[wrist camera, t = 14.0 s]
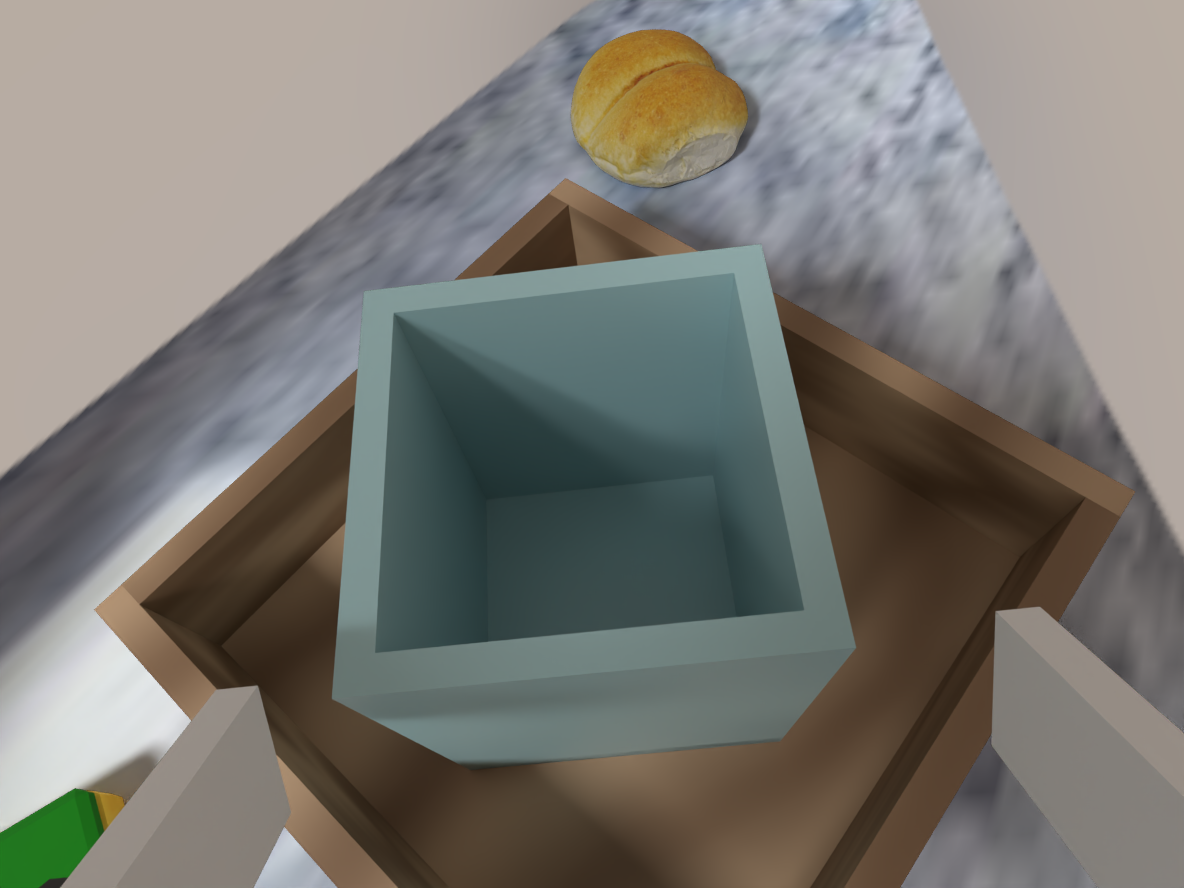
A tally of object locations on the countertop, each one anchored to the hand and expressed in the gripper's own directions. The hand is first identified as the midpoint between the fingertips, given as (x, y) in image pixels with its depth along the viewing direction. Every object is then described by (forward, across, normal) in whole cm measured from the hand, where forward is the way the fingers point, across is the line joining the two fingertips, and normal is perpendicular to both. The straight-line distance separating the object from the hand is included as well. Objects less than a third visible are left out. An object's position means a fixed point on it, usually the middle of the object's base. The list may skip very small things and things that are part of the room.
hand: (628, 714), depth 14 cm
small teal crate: (+13, 0, -5) cm, 14 cm away
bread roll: (+31, +4, +12) cm, 34 cm away
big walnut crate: (+14, 0, -5) cm, 15 cm away
